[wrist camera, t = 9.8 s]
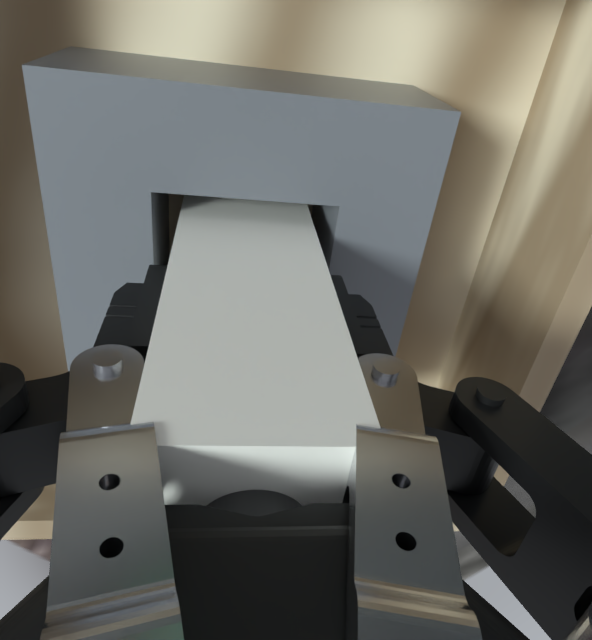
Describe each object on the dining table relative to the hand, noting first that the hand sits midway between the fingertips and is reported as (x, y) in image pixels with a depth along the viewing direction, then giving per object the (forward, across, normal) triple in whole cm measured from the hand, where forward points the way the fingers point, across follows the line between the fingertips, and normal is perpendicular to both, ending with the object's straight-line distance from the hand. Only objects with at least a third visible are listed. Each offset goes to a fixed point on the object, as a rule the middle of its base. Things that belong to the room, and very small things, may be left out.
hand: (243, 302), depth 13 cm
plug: (+3, 0, 0) cm, 3 cm away
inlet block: (+6, 0, 0) cm, 6 cm away
